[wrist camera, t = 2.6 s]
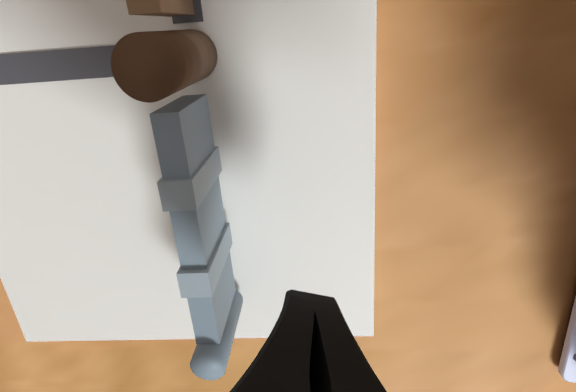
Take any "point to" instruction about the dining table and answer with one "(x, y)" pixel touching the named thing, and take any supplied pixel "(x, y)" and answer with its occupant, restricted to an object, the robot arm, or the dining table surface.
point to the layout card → (146, 169)
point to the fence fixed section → (161, 54)
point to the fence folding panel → (198, 228)
